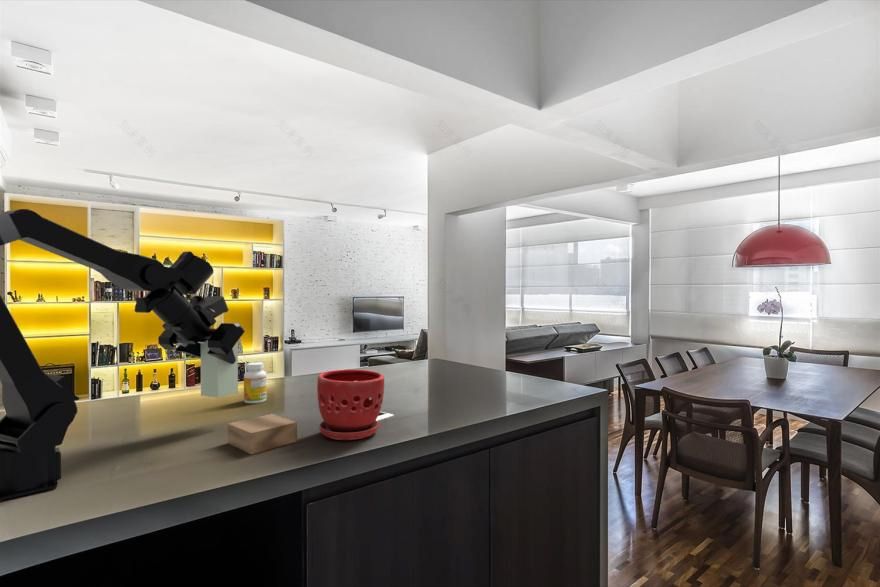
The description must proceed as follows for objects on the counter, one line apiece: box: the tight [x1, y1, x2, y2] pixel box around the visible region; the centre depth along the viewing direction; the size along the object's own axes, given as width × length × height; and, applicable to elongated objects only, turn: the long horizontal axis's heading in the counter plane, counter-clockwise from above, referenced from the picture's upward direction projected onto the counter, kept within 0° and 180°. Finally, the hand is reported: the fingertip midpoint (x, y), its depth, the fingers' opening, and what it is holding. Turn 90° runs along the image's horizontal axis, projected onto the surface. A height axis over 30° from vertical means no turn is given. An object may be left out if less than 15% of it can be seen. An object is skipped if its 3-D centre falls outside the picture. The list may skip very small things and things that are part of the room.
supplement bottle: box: [243, 361, 268, 404], centre depth 118 cm, size 5×5×10 cm
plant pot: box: [316, 369, 385, 441], centre depth 92 cm, size 13×13×12 cm
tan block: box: [227, 413, 298, 455], centre depth 87 cm, size 9×9×4 cm
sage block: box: [200, 340, 239, 399], centre depth 97 cm, size 5×5×13 cm
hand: (225, 361), depth 98 cm, fingers closed on sage block, 5 cm apart
